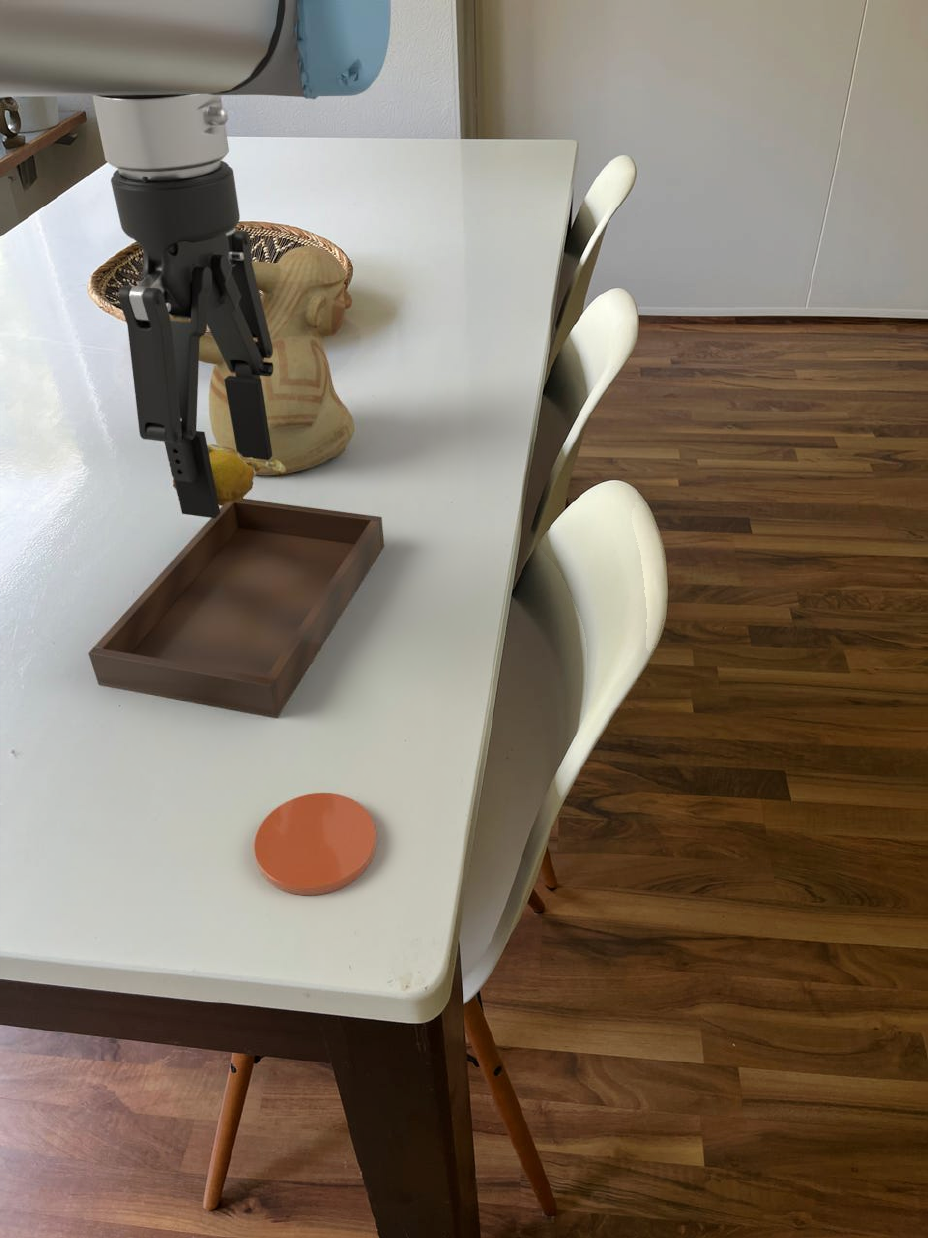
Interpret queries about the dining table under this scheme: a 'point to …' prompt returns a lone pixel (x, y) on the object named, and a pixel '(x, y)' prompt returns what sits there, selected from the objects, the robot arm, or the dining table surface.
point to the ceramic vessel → (292, 361)
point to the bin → (242, 607)
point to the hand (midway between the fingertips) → (229, 483)
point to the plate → (315, 844)
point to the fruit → (234, 472)
